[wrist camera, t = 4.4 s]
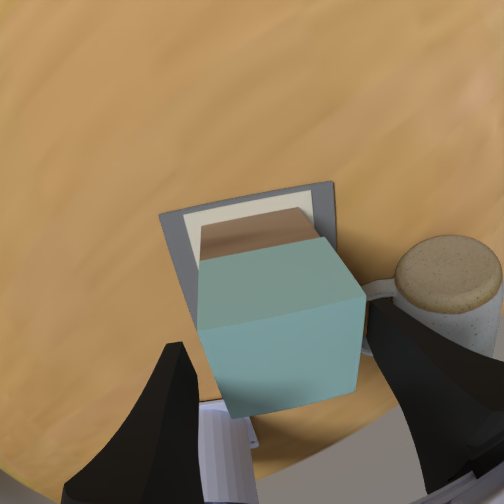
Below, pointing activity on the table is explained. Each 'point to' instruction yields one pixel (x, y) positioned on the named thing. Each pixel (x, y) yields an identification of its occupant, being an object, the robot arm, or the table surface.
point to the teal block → (280, 326)
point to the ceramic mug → (448, 290)
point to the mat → (192, 218)
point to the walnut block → (255, 233)
